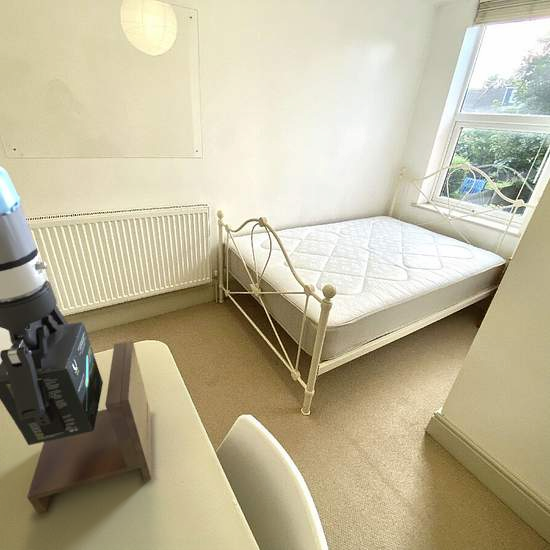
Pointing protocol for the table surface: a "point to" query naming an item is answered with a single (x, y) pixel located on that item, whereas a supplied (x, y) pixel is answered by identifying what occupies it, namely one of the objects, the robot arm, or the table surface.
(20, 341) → the robot arm
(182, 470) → the table surface
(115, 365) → the wooden display stand
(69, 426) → the tampon box
